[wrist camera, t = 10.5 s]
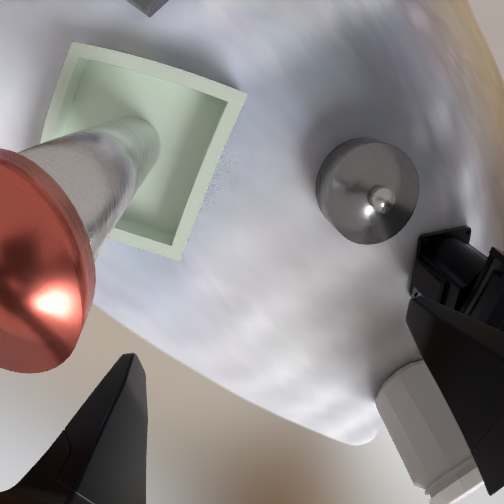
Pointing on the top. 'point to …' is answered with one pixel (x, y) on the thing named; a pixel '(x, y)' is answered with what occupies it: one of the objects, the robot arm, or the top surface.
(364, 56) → the top surface
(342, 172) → the disc
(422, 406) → the jar
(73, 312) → the pin
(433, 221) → the top surface
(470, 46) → the top surface
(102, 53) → the tray
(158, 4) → the tensioner block
